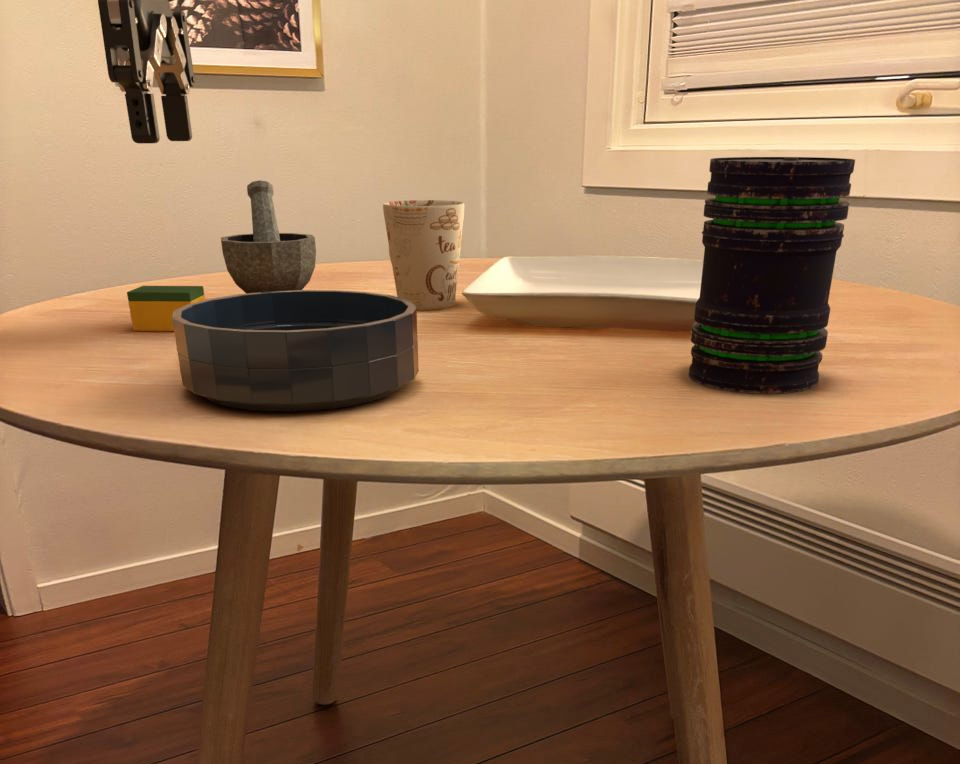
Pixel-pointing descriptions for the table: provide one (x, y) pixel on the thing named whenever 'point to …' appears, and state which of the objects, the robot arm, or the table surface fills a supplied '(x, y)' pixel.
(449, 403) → the table surface
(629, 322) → the square plate
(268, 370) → the bowl
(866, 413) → the table surface
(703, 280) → the storage jar
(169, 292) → the sponge
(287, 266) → the mortar and pestle
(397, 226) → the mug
